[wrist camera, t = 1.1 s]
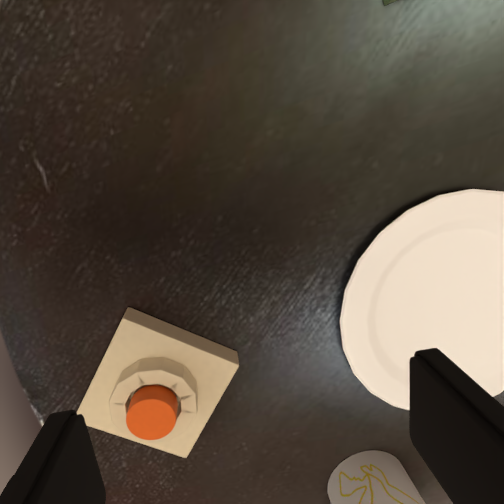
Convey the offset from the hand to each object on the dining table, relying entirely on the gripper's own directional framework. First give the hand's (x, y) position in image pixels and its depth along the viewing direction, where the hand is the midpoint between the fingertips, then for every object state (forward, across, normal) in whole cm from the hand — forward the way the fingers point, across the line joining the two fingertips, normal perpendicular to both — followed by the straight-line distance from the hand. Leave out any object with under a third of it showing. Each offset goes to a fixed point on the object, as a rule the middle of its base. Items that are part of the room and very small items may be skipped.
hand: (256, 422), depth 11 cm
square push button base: (+20, +7, +11) cm, 24 cm away
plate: (+21, -19, +8) cm, 29 cm away
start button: (+17, +7, +11) cm, 21 cm away
